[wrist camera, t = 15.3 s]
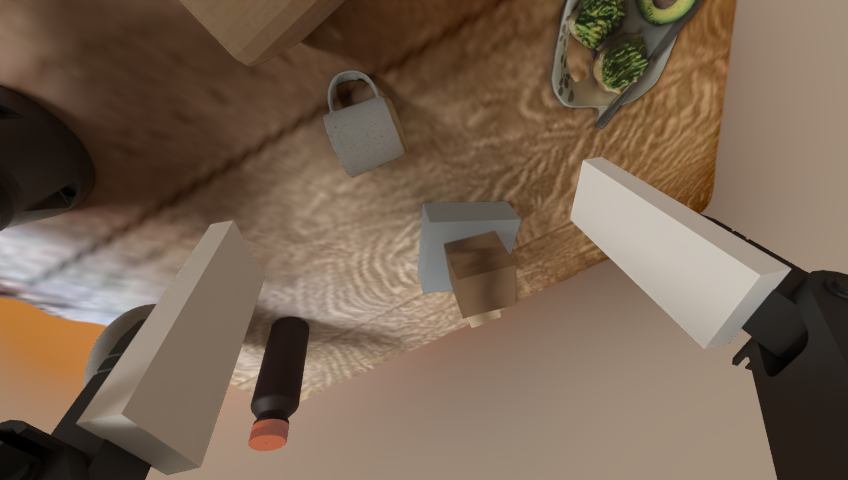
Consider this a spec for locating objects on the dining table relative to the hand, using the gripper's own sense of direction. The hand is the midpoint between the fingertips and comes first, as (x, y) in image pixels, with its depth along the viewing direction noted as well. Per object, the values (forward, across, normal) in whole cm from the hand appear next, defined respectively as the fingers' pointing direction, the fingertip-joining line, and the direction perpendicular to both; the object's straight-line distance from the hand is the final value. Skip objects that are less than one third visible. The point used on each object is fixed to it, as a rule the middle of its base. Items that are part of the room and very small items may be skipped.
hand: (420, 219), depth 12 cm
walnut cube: (+26, +10, -26) cm, 38 cm away
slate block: (+32, +10, -26) cm, 42 cm away
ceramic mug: (+32, -3, -4) cm, 32 cm away
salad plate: (+32, +31, +1) cm, 45 cm away
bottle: (+32, -24, -40) cm, 57 cm away
